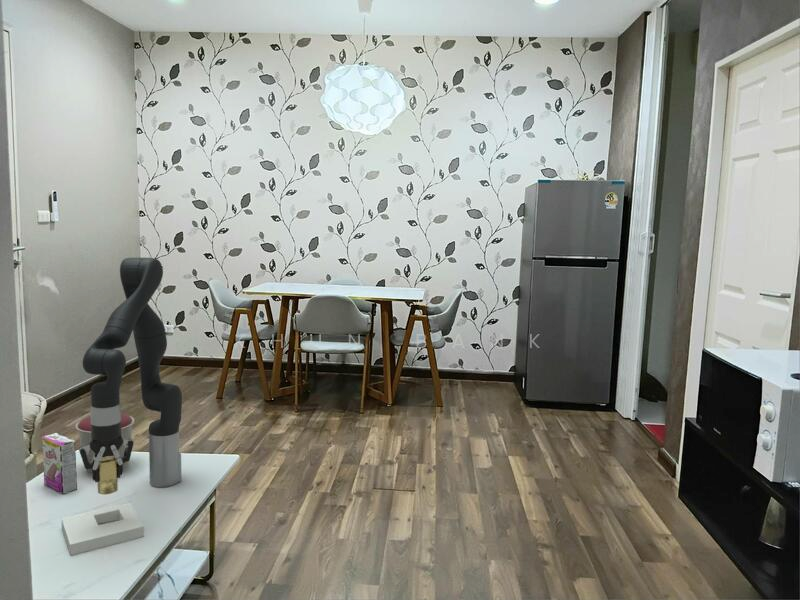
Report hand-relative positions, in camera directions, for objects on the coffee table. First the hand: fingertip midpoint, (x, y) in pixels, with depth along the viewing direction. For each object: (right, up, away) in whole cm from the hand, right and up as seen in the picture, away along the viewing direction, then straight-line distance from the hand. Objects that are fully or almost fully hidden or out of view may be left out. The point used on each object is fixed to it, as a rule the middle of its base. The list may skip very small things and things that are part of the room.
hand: (107, 478), depth 171 cm
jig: (-1, -15, -1) cm, 15 cm away
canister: (-19, -8, +40) cm, 45 cm away
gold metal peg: (0, -3, +1) cm, 3 cm away
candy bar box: (-27, -10, +25) cm, 38 cm away
